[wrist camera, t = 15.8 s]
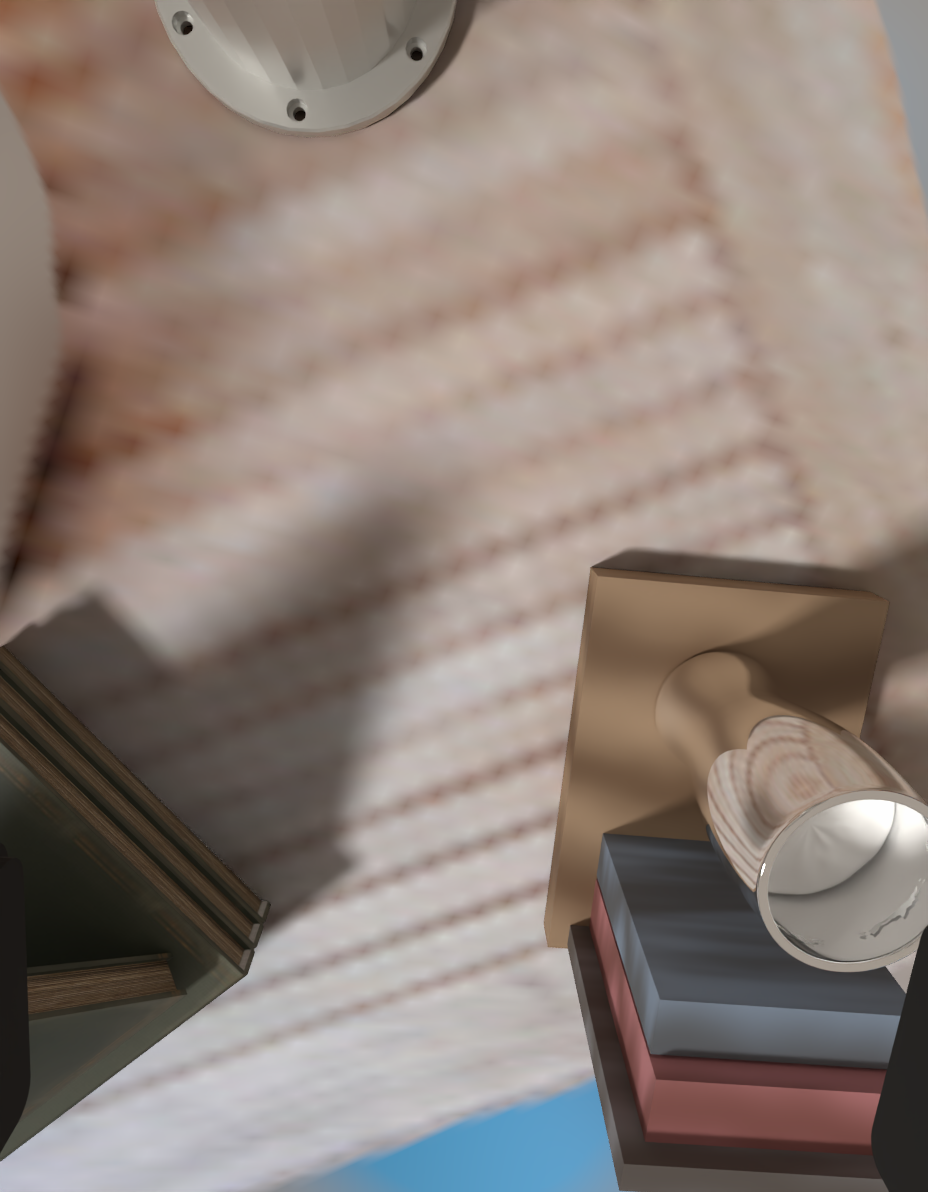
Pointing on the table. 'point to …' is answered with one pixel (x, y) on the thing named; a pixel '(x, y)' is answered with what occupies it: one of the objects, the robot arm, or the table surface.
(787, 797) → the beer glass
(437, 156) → the table surface
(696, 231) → the table surface
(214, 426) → the table surface
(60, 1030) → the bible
